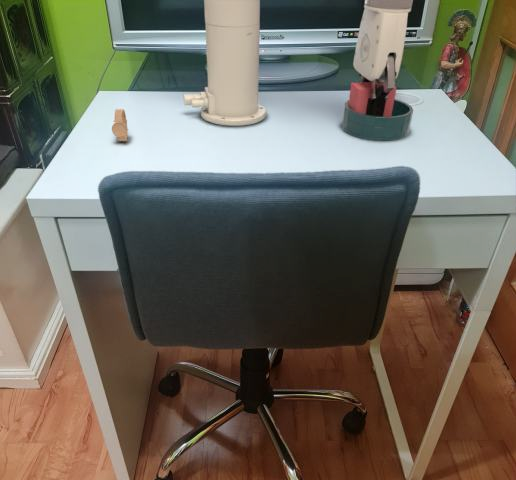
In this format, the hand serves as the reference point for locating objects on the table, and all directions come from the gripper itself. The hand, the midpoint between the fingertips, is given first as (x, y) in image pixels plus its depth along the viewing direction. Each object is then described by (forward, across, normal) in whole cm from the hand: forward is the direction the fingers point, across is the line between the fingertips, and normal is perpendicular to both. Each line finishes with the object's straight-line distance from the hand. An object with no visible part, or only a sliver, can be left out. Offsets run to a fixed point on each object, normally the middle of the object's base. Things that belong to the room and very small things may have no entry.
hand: (368, 116), depth 93 cm
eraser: (0, 0, 0) cm, 1 cm away
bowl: (+2, 0, +2) cm, 3 cm away
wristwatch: (+3, -1, -44) cm, 44 cm away
